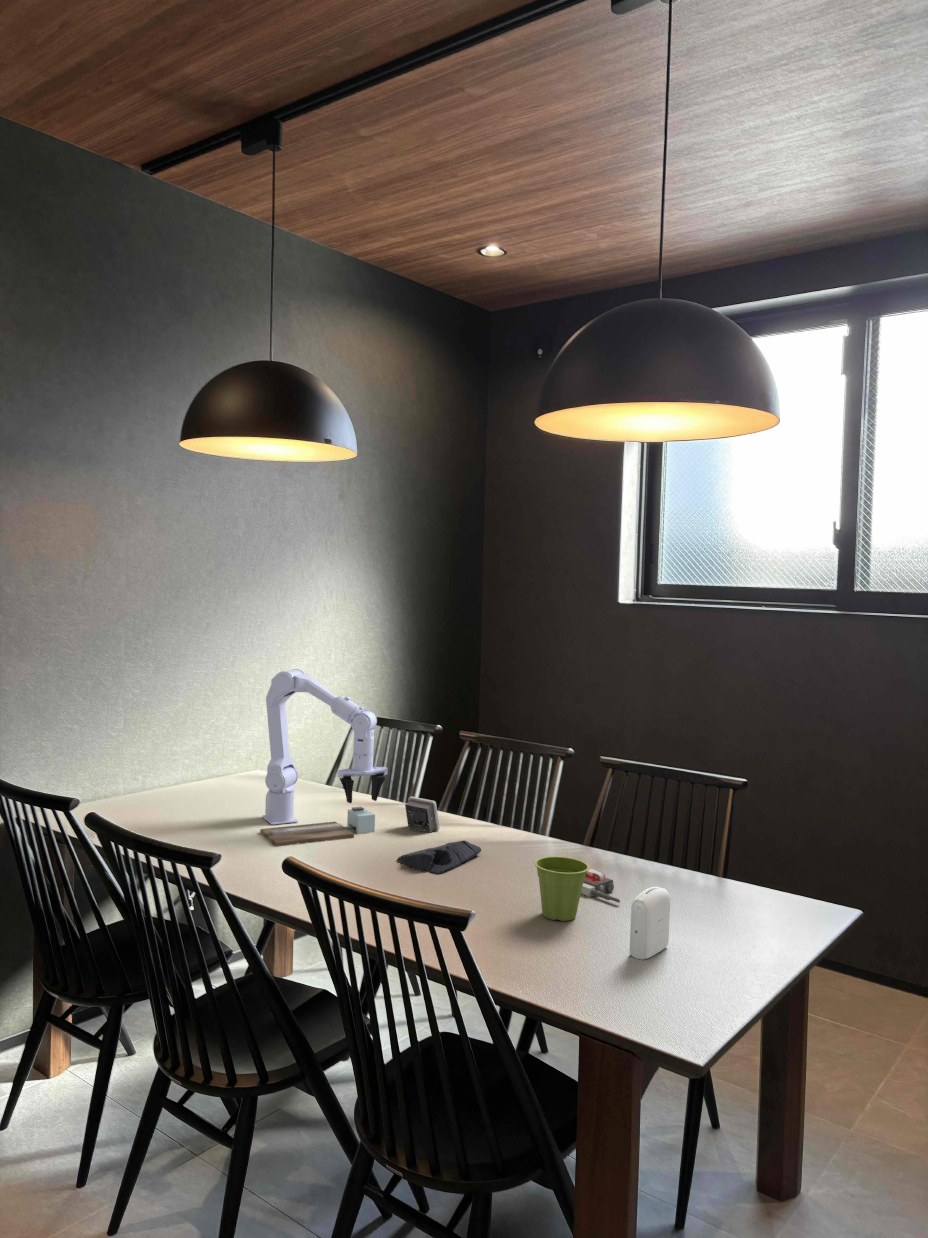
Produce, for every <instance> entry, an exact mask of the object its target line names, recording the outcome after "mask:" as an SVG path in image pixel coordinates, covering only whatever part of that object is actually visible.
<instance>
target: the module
mask: <svg viewBox="0 0 928 1238" xmlns="http://www.w3.org/2000/svg"><path fill="white" fill-rule="evenodd" d="M346 820H347V822H346V823H347V824H346V825H347V826H346V827H347V828H348V829H354V827H355V834H357V835H360V834H361V835H362V834H370V833H371V832H372V833H375V832H376V831H375V826H376V814H375V813H373V812H372V811H369V810H368V809H366V808H365V807H362V806H355V807H351V809H350V808H349V809H347V819H346Z"/></svg>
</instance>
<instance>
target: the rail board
mask: <svg viewBox="0 0 928 1238" xmlns="http://www.w3.org/2000/svg"><path fill="white" fill-rule="evenodd" d="M259 830H260V834H261V835H262V836H264V837H265V838H266V839H267V840H268V841H269V842H270V843H272V844H273V845H274V846H275V847H279V846H280V847H281V846H289V845H290V844H291V845H297V843H300V844H306V843H305V842H309V843H316V842H315V841H318V842H325V840H327V841H336V840H342V839H343V840H345V839H352V838H355V834H354V833H353V832H352V831H350V830H348V829H347V828H346V827H344V825H343V824H341V823H340V822H339V823H338V822H337V821H329V822H328V821H327V822H318V823H308V824H299V825H297V824H296V825H287V826H278V827H268V828H267V827H266V828H260V829H259ZM334 839H335V840H334Z"/></svg>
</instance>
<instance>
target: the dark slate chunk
mask: <svg viewBox="0 0 928 1238" xmlns="http://www.w3.org/2000/svg"><path fill="white" fill-rule="evenodd" d="M481 852H482V848H481V846H478V845H476V844H473V843H471V842H469V841H467V840H459V841H453V842H452V841H450V842H447V843H445V844H443V845H439V846H436V847H429V848H424V849H421V850H417V851H413V852H409V853H405V854H403V855H401V856H398V858H397V859H396V862H397V863H400V864H399V865H402V864H404V865H403V866H405V865H407V866H406V867H408V866H409V867H410V869H412V868H413V869H412V870H416V869H417V871H419V870H421V872H423V871H426V872H425V873H430V872H431V874H434V873H435V874H438V875H440V874H444V873H445V872H447V871H450V870H453V869H454V868H457V867H460V866H461V865H462V864H464V863H466V862H467V861H470V860H471V859H474V857H476V856H477V855H479V854H481ZM398 861H399V862H398ZM409 867H408V868H409ZM428 871H429V872H428Z"/></svg>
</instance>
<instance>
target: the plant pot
mask: <svg viewBox="0 0 928 1238" xmlns="http://www.w3.org/2000/svg"><path fill="white" fill-rule="evenodd" d="M533 862H534V866H535V867H536V872H537V876H538V882H539V891H540V892H539V893H540V895H539V896H540V903H541V914H542V915H543V917H545V918H546V919H548V920H552V921H555V920H558V921H561V922H567V921H572V920H574V919H575V918H576V916H577V913H578V908H579V903H580V900H581V899H580V898H581V891H582V886H583V882H584V880H585V877H586V873H587V871H588V870H590V869H591V867H590V865H589V864H588V863H587V862H585V861H583V860H581V859H578V858H573V857H568V856H561V855H560V856H559V855H555V856H553V855H552V856H544V857H539V858H536V860H535V861H533Z"/></svg>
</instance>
